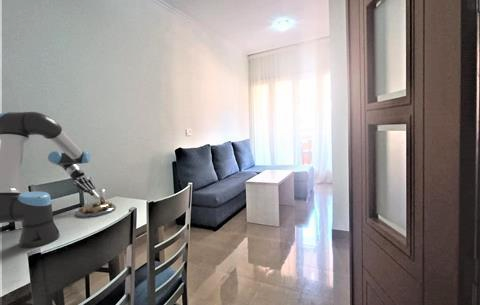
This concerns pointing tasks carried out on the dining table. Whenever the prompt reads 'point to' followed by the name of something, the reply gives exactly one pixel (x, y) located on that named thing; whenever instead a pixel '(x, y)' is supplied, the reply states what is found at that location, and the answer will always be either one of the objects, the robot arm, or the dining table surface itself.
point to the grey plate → (87, 215)
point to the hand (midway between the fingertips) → (97, 198)
